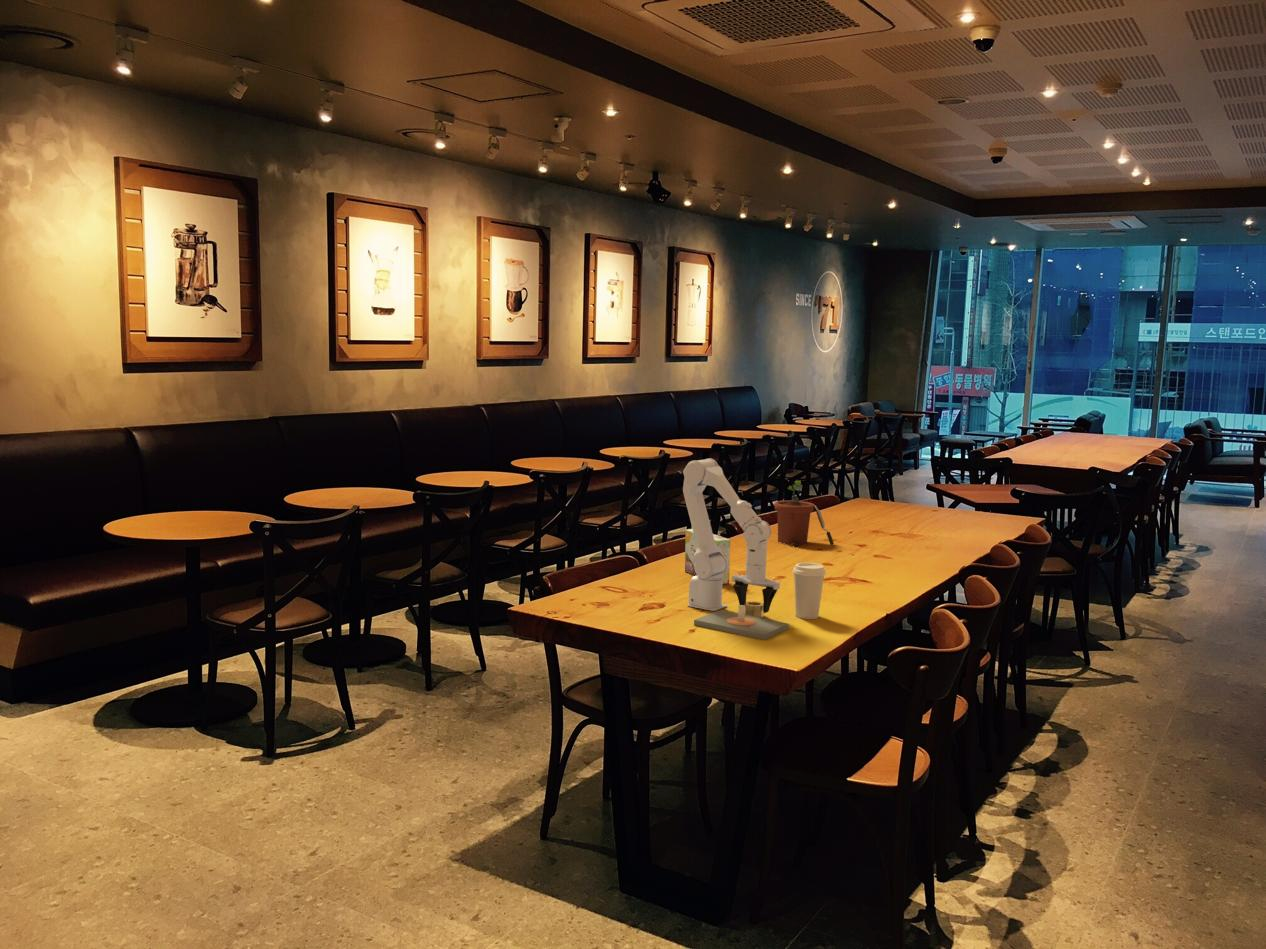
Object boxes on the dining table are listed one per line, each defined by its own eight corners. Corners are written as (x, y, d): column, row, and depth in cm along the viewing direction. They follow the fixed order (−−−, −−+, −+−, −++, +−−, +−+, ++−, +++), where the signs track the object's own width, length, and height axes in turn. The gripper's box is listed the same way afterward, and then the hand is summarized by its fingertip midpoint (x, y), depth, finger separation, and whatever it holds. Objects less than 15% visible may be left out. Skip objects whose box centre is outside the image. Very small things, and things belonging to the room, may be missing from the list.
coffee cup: (819, 612, 298) (822, 562, 296) (826, 620, 288) (829, 569, 286) (787, 611, 297) (790, 561, 296) (793, 620, 288) (796, 568, 286)
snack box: (683, 572, 347) (684, 528, 345) (697, 570, 350) (698, 528, 348) (715, 585, 328) (717, 540, 326) (730, 584, 331) (732, 539, 329)
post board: (693, 625, 280) (694, 603, 279) (719, 615, 291) (720, 594, 291) (764, 639, 267) (765, 617, 267) (788, 628, 279) (789, 607, 278)
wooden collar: (740, 616, 291) (741, 603, 290) (750, 612, 295) (750, 600, 295) (757, 619, 288) (758, 607, 287) (767, 615, 292) (767, 603, 292)
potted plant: (788, 536, 419) (791, 477, 416) (834, 544, 405) (837, 483, 402) (764, 542, 406) (767, 480, 403) (810, 550, 392) (814, 486, 389)
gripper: (727, 562, 291) (725, 608, 292) (772, 569, 282) (770, 616, 284) (739, 558, 296) (737, 603, 298) (783, 565, 288) (781, 612, 290)
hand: (754, 609), depth 291 cm, fingers open, 7 cm apart
